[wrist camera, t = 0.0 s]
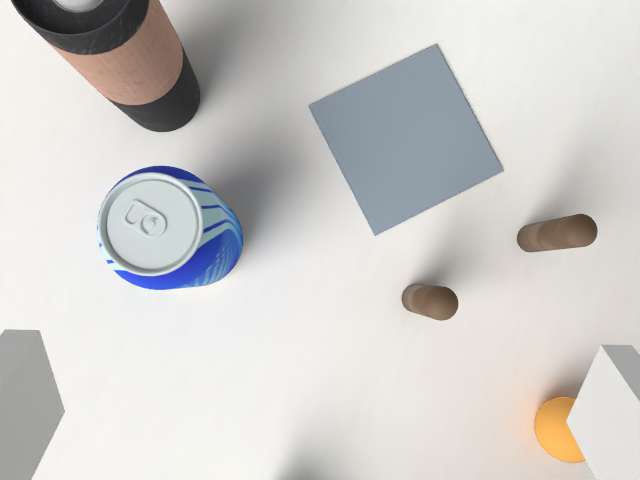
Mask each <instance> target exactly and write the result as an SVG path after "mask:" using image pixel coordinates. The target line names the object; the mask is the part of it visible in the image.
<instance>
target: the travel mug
mask: <svg viewBox="0 0 640 480" xmlns="http://www.w3.org/2000/svg"><path fill="white" fill-rule="evenodd" d="M11 2H12V4H13V5H14V7H15V8H16V10H17V12H18V13H19V14H20V15H21V16H22V18H23V19H24V20H25V21H26V22H27V23H28V24H29V25H30V26H31V27H32V28H33V29H34V30H35V31H36V32H38V33H39V34H40V35H41V36H42V37H43V38H44V39H45V40H46V41H47V42H48V43H49V44H50V45H51V46H52V47H53V48H54V49H55V50H56V51H57V52H58V53H59V54H60V55H61V56H62V57H63V58H65V59H66V60H67V61H68V62H69V63H70V64H71V65H72V66H73V67H74V68H75V69H76V70H77V71H78V72H79V73H80V74H81V75H82V76H83V77H84V78H85V79H86V80H87V81H88V82H89V83H90V84H92V85H93V86H94V87H95V88H96V89H97V90H98V91H99V92H100V93H101V94H102V95H103V96H105V97H106V98H107V99H108V100H109V101H111V102H112V103H113V104H114V105H115V106H117V107H118V108H119V109H120V110H122V111H123V112H124V113H125V114H126V115H128V116H129V117H130V118H131V119H132V120H134V121H135V122H136V123H138V124H139V125H141V126H142V127H144V128H146V129H148V130H151V131H156V132H169V131H173V130H176V129H179V128H181V127H182V126H184V125H185V124H187V123H188V122H189V121H190V120H191V119H192V117H193V116H194V115H195V113H196V111H197V108H198V106H199V101H200V90H199V86H198V82H197V80H196V77H195V75H194V72H193V70H192V68H191V65H190V63H189V61H188V58H187V56H186V54H185V51H184V49H183V47H182V44H181V42H180V40H179V38H178V35H177V34H176V32H175V30H174V28H173V26H172V24H171V22H170V20H169V18H168V16H167V15H166V13H165V11H164V9H163V7H162V5H161V3H160V1H159V0H11Z"/></svg>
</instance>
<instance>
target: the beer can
mask: <svg viewBox="0 0 640 480" xmlns="http://www.w3.org/2000/svg"><path fill="white" fill-rule="evenodd" d="M97 236H98V241H99V245H100V249H101V251H102V254H103V256H104V258H105V259H106V261H107V263H108V264H109V265H110V267H111V268H112V269H113V270H114V271H115V272H116V273H117V274H118V275H119V276H121V277H122V278H123V279H125V280H126V281H128V282H130V283H132V284H134V285H137V286H140V287H143V288H147V289H154V290H166V289H176V288H187V287H197V286H205V285H209V284H212V283H215V282H217V281H219V280H220V279H222V278H223V277H225V276H226V275H227V274H228V273H229V272H230V271H231V270H232V269H233V268H234V266H235V265H236V263H237V261H238V259H239V257H240V254H241V251H242V245H243V235H242V229H241V226H240V223H239V221H238V219H237V217H236V215H235V214H234V212H233V211H232V210H231V209H230V208H229V207H228V206H227V205H226V204H225V203H224V202H223V201H222V200H221V199H220V198H219V197H218V196H217V195H216V194H215V193H214V192H213V191H212V190H211V189H210V188H209V187H208V186H207V185H206V184H205V183H204V182H203V181H202V180H201V179H199V178H198V177H196V176H195V175H193V174H191V173H189V172H187V171H185V170H182V169H179V168H175V167H170V166H152V167H147V168H143V169H140V170H137V171H135V172H133V173H131V174H129V175H127V176H126V177H124V178H123V179H122V180H120V181H119V182H118V183H117V184H116V185H115V186H114V187H113V188H112V189H111V190H110V192H109V193H108V195H107V196H106V198H105V200H104V201H103V204H102V206H101V209H100V212H99V216H98V222H97Z"/></svg>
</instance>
